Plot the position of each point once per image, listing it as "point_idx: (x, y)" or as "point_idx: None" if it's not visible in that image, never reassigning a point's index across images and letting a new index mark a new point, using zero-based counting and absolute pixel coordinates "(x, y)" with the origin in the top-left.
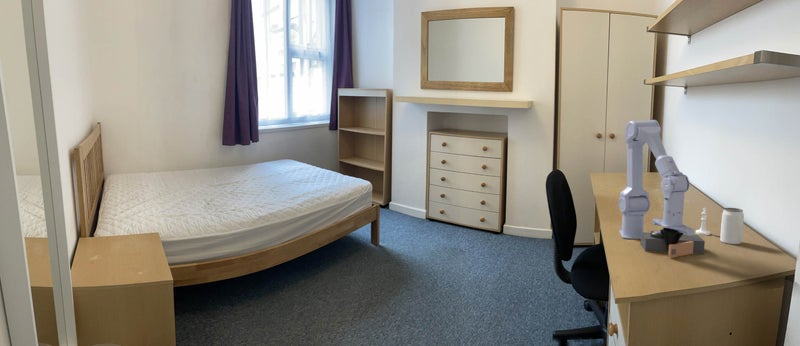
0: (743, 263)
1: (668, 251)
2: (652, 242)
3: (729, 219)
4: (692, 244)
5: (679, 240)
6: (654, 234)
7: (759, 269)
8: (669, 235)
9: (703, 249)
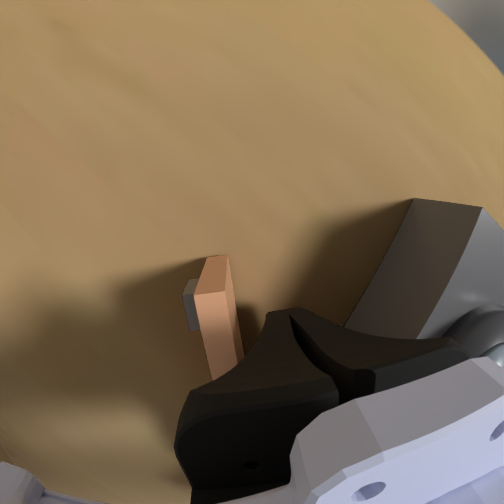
0: (95, 489)
1: None
2: (434, 257)
3: None
4: None
5: None
6: (490, 322)
7: (40, 473)
8: (261, 379)
9: None
